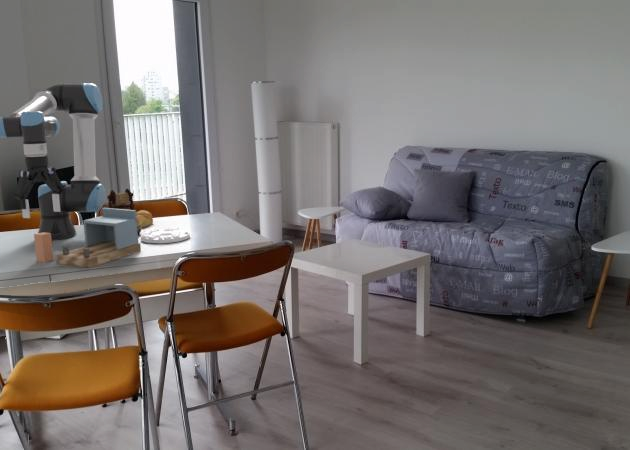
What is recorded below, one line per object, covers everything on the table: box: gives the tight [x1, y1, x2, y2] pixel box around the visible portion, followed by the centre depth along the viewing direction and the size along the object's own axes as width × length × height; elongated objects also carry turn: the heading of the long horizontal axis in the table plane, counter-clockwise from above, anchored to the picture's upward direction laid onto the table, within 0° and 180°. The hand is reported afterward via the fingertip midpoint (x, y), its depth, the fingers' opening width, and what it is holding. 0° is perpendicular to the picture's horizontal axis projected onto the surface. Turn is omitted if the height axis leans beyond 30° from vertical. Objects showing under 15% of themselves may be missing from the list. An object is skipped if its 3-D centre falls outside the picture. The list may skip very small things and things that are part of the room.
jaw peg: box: [33, 232, 54, 263], centre depth 230 cm, size 4×4×10 cm
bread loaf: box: [136, 209, 154, 229], centre depth 293 cm, size 21×10×8 cm, turn 11°
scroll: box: [107, 188, 142, 237], centre depth 269 cm, size 15×15×20 cm
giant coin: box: [140, 227, 190, 244], centre depth 263 cm, size 20×20×3 cm
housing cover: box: [82, 207, 139, 250], centre depth 239 cm, size 16×11×13 cm
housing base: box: [55, 241, 142, 268], centre depth 234 cm, size 16×26×6 cm, turn 154°
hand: (42, 214), depth 228 cm, fingers open, 13 cm apart
